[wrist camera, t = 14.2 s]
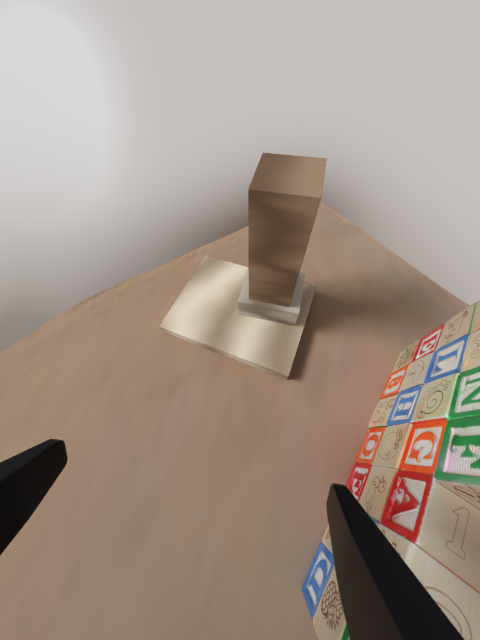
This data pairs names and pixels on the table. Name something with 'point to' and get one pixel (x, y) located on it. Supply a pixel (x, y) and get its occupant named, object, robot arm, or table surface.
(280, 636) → the table surface
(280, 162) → the block
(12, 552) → the table surface
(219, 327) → the board
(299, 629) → the table surface
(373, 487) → the stack of blocks
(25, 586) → the table surface
